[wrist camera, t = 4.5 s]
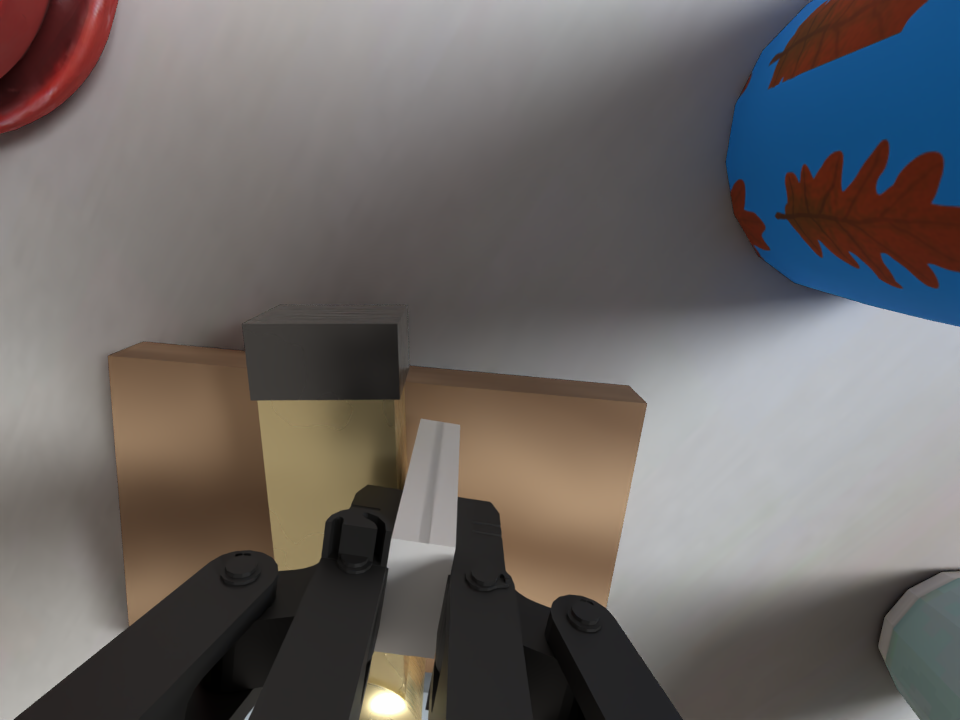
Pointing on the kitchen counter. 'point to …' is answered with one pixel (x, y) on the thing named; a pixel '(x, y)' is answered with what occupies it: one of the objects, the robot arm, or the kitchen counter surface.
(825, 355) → the kitchen counter surface
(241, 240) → the kitchen counter surface
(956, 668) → the disposable coffee cup
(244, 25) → the kitchen counter surface
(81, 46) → the plant pot
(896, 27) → the thermos
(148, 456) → the door and jamb
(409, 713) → the swing bar
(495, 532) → the robot arm
